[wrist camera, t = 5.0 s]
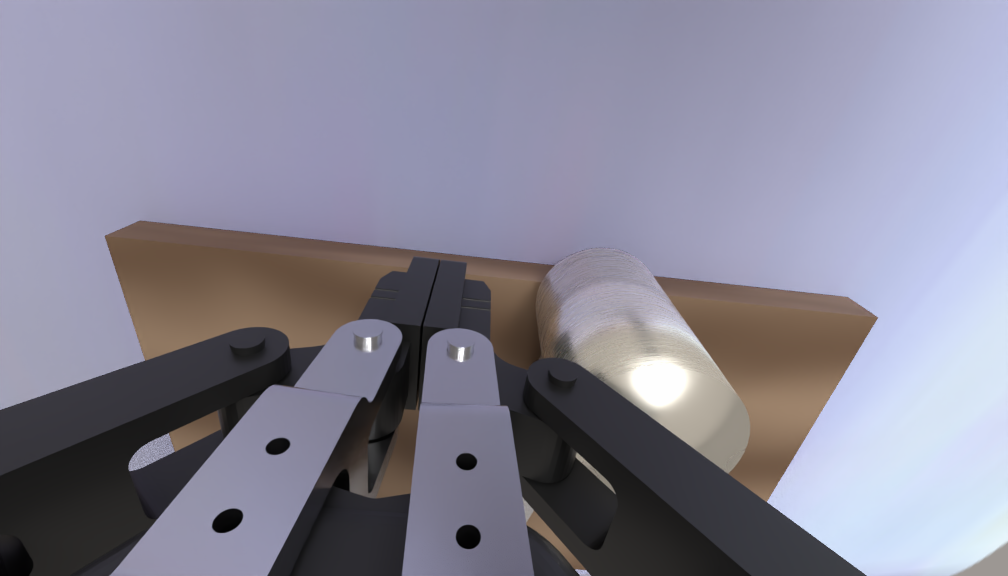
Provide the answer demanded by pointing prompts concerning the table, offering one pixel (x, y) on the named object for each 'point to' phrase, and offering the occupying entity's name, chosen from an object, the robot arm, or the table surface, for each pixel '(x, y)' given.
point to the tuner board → (513, 329)
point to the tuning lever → (639, 351)
